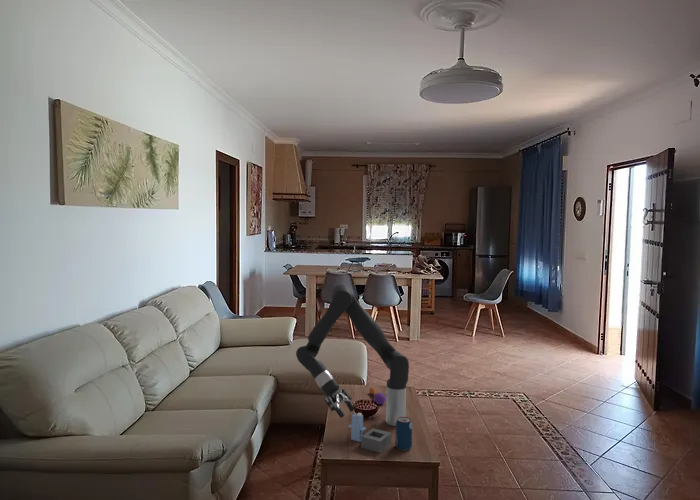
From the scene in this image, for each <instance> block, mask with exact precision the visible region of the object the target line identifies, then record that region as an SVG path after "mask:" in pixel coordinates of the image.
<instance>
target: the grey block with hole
mask: <svg viewBox="0 0 700 500" xmlns="http://www.w3.org/2000/svg"><path fill="white" fill-rule="evenodd" d="M360 442H361V443H360V444H361V445H360V446H361V447H360V448H362V449H365V450H367V451H371V452H375V453H379V454H382V452H384V451H385V450H386V449H387V448H389V446H391V445H392V432H390V431H389V432H388V431H385V430H382V429H378V428H370V430H368V431H367V432H365V433H363V436H361V441H360Z"/></svg>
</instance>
